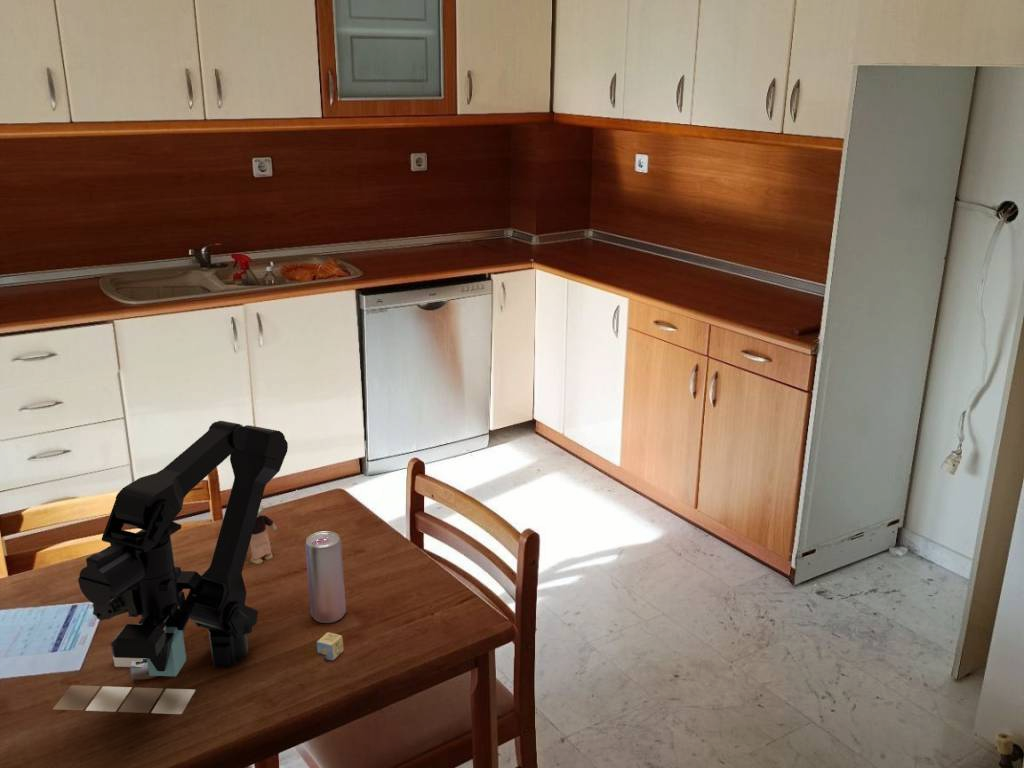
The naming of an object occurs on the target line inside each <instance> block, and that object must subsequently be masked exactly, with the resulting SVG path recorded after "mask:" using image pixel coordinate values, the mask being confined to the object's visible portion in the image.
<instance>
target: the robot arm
mask: <svg viewBox="0 0 1024 768" xmlns="http://www.w3.org/2000/svg"><path fill="white" fill-rule="evenodd" d="M288 446H289V443H288V441H287V440H286V436H285V434H284V433H283V431H280V430H277V429H270V428H265V427H261V426H255V425H250V424H249V425H243V424H240V423H237V422H230V421H225V420H218V421H214V422H212V423H211V425H210V426H209V427H208V430H207V431H206V432H205V433H204V434H203V435H201V436H200V437H198V439H196V441H194V442H192V443H191V445H190V446H189V447H187V448H186V449H185V450H184V451H182V452H181V453H180V454H179V455H178V456H177V457H175V458H174V459H173V460H172V461H171V462H169V464H167V465H166V466H165V467H164V468H162V469H160V470H159V471H158V472H155V473H151V474H147V475H145V476H141V477H139V478H137V479H136V480H133V481H132V482H131V483H129V484H127V485H125V486H124V487H122V489H121V490H119V491H118V493H117V494H116V497H115V501H114V503H113V506H112V509H111V512H110V515H109V517H108V521H107V523H106V526H105V529H104V531H103V533H102V537H101V541H102V542H105V543H109V544H110V545H109V546H108V547H106V548H103V550H100V551H99V552H96V553H93V554H91V555H90V556H88V557H87V558H86V559H85V562H86V566H84V567H83V568H82V569H81V570H80V571H79V572H80V573H79V574H78V575H79V577H78V578H77V582H78V586H79V588H80V591H81V593H82V594H83V595H84V598H85V597H86V599H87V600H88V601H90V603H92V608H93V611H92V614H93V615H94V616H95V617H96V619H97V620H99V621H106V620H107V621H108V620H111V619H112V618H115V617H116V616H119V615H124V614H126V613H128V617H129V618H138V617H139V616H141V619H140V620H139V621H138V622H137V623H138V624H134V623H127V624H126V625H124V626H123V627H122V629H120V631H119V632H118V633H117V634H116V635H115V638H113V640H112V641H111V643H110V647H111V652H112V657H113V656H114V657H115V658H144V659H150V661H151V662H152V664H153V665H154V667H155V668H156V670H157V671H165V669H166V666H167V662H168V658H169V653H170V649H171V645H172V641H173V636H174V633H166V627H177V630H182V631H183V634H184V633H185V630H186V628H187V624H188V622H189V620H191V622H193V623H194V624H195V626H196V627H198V628H204V629H206V630H208V637H209V644H210V651H211V652H210V653H211V659H212V662H213V667H214V668H215V669H218V668H219V669H231V668H232V667H234V666H235V665H236V664H237V663H240V662H241V661H243V660H244V659H245V658H246V657H247V655H248V654H249V643H248V636H247V634H251V633H252V632H253V627H254V626H255V625H257V623H258V615H259V611H258V610H257V609H254V608H252V607H249V606H247V605H246V598H247V590H246V586H245V581H244V578H243V570H244V566H245V562H246V560H247V559H246V558H247V554H248V551H249V548H250V545H251V543H250V540H251V537H252V533H253V529H254V526H255V522H256V518H257V515H258V511H259V507H260V504H261V503H262V499H263V496H264V492H265V489H266V486H267V484H268V483H269V482H270V481H271V480H272V479H273V478H274V477H275V476H276V475H277V474H278V473H279V472H280V471H281V467H282V466H283V463H284V460H285V458H286V455H287V453H288ZM228 458H229V461H230V465H231V469H232V472H233V477H234V479H233V483H232V486H231V490H230V494H229V497H228V500H227V505H226V508H225V512H224V515H223V519H222V522H221V526H220V530H219V533H218V535H217V540H216V544H215V546H214V547H215V548H214V551H213V555H212V558H211V563H210V565H209V567H208V568H207V569H206V570H205V571H204V572H203V574H200V573H199V572H197V571H192V570H191V571H189V570H182V569H181V566H176V565H175V557H174V552H173V551H174V550H173V545H172V537H171V536H172V535H173V534H175V533H177V532H178V531H180V530H181V529H182V524H181V523H177V522H175V521H174V519H175V518H176V517H177V516H178V515H179V513H180V512H182V510H183V505H184V500H185V498H186V496H187V495H188V494H189V493H190V492H191V491H192V490H193V489H194V488H195V487H196V486H197V485H198V484H200V483H201V482H202V481H203V480H204V479H205V478H206V477H208V475H210V474H211V473H212V472H213V471H214V470H215V469H216V468H217V467H219V465H221V463H223V462H224V461H225V460H226V459H228ZM124 526H126V527H131V528H136V529H139V531H137V532H133V531H129V530H126V529H125V530H124V529H123V527H124ZM183 590H189V591H188V595H187V596H186V597H185V591H183Z"/></svg>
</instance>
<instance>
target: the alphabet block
mask: <svg viewBox="0 0 1024 768" xmlns="http://www.w3.org/2000/svg"><path fill="white" fill-rule="evenodd" d="M343 640H344V639H343V635H342V634H341V635H340V634H337V633H333V632H326V633H325V634H324V635H323V636H322V637H321V638H320V639H319V638H318V640H317V641H316V649H317V650H316V651H317V653H318V654H321V655H324V658H323V659H324V660H330V661H334V660H335V659H337V658H338V656H339V655H341V653H343V652H344V641H343Z"/></svg>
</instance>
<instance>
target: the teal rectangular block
mask: <svg viewBox="0 0 1024 768" xmlns="http://www.w3.org/2000/svg"><path fill="white" fill-rule="evenodd" d="M166 633H174V636H173V641H172V645H171V649H170V653H169V658H168V662H167V666H166V669H165V671H157V670H156V668H155V667H154V665H153V664H152V662H151V661H150V659H147V662H146V664H147V668H148V669H147V671H148V676H150V677H151V676H152V677H153V676H154V677H156V676H157V677H177V675H178V674H179V672H180V671H181V669H182V668H183V666H184V665H185V663H186V661H187V653H186V646H185V640H184V633H183V631H182V630H177V627H166Z"/></svg>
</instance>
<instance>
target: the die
mask: <svg viewBox="0 0 1024 768" xmlns="http://www.w3.org/2000/svg"><path fill="white" fill-rule="evenodd" d="M112 658H113V663H114V664H113V665H114V667H115V668H116V667H117V668H132V667H131V663H132V661H135V662H142V661H143V659H144V658H115V657H114V656H113V655H112Z"/></svg>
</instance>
